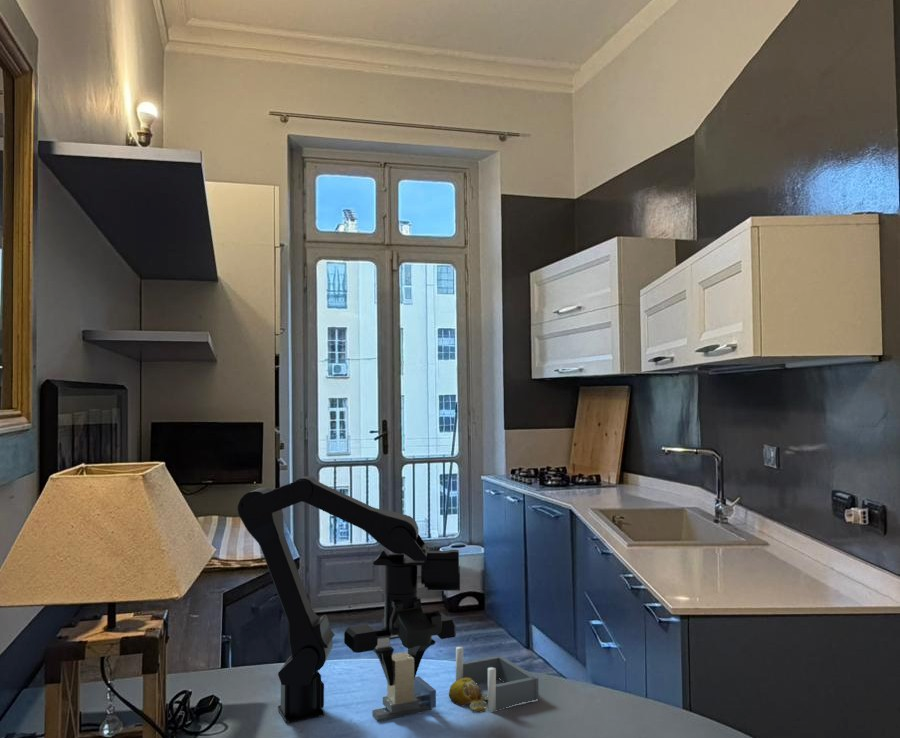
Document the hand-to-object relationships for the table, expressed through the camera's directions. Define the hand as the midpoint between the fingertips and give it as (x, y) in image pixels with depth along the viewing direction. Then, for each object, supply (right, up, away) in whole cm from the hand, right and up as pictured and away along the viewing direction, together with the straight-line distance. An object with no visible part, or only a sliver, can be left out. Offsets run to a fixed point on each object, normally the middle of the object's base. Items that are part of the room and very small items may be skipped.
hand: (400, 683), depth 120 cm
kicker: (+1, -4, 0) cm, 4 cm away
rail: (0, -5, 0) cm, 5 cm away
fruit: (+13, -6, +4) cm, 15 cm away
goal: (+17, -6, +8) cm, 20 cm away
